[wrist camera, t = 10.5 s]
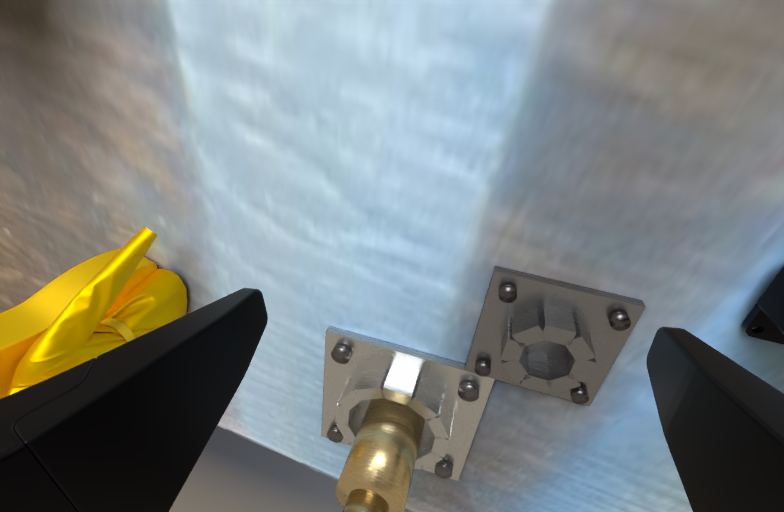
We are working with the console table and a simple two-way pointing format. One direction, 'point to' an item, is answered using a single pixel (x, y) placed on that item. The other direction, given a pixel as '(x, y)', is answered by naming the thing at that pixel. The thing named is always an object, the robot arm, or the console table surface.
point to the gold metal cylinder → (381, 459)
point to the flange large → (403, 396)
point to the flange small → (550, 334)
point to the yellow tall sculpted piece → (87, 314)
